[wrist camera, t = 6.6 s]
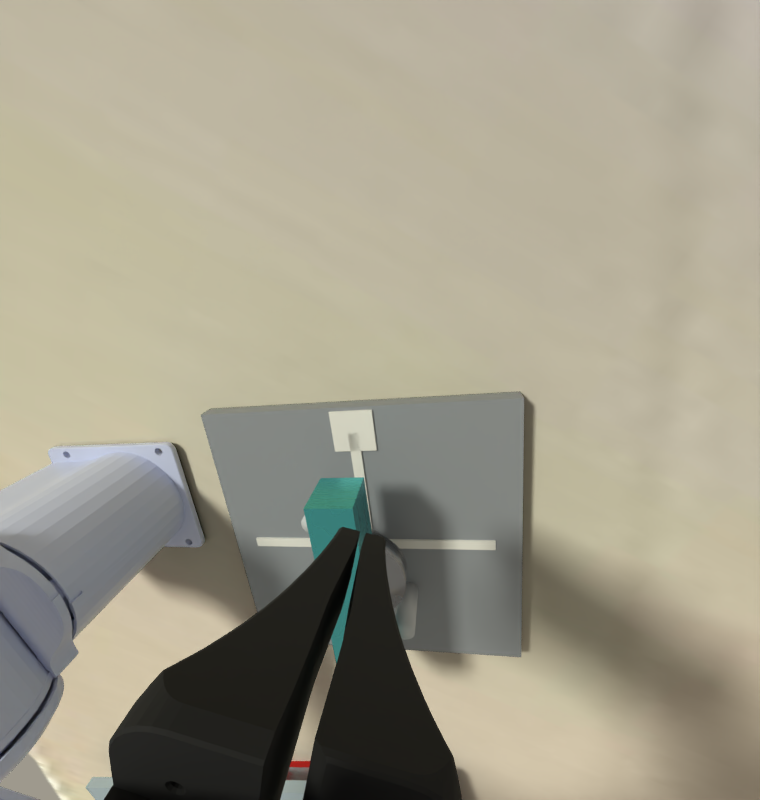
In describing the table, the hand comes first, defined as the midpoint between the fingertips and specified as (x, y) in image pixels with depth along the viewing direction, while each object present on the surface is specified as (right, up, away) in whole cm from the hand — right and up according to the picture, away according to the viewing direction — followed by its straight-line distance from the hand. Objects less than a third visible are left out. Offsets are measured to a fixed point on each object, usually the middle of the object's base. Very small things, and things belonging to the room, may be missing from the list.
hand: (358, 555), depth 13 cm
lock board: (0, -3, +12) cm, 12 cm away
